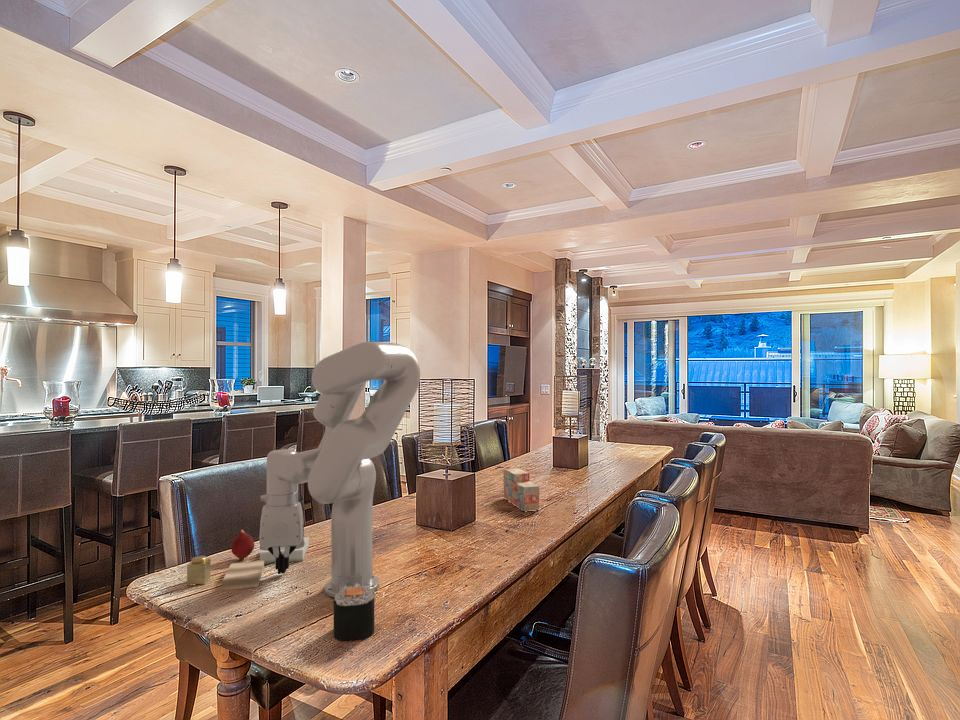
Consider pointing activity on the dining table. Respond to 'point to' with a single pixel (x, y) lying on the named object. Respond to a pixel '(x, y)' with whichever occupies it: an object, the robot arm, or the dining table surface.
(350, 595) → the sushi
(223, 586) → the maple board
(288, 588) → the dining table surface
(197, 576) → the bench dog
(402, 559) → the dining table surface
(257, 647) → the dining table surface
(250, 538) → the onion
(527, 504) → the stack of blocks
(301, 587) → the dining table surface
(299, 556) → the ceramic dish
